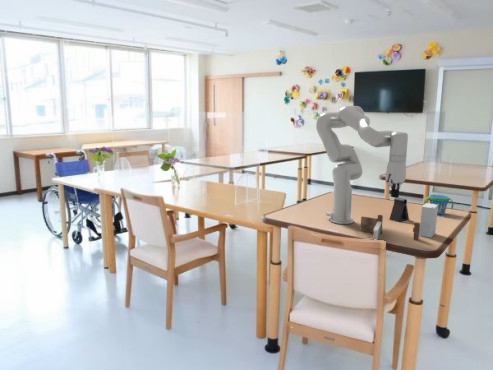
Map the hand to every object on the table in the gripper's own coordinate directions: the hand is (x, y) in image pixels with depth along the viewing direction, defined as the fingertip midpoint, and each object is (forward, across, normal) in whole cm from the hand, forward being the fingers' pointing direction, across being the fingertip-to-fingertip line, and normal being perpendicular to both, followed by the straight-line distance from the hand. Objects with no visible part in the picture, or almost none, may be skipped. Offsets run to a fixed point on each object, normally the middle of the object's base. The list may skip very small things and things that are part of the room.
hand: (394, 196), depth 198 cm
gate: (+19, +10, -2) cm, 21 cm away
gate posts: (+19, 0, -2) cm, 19 cm away
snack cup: (+19, -57, -8) cm, 61 cm away
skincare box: (+19, -14, +10) cm, 26 cm away
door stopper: (+19, -28, -14) cm, 37 cm away
